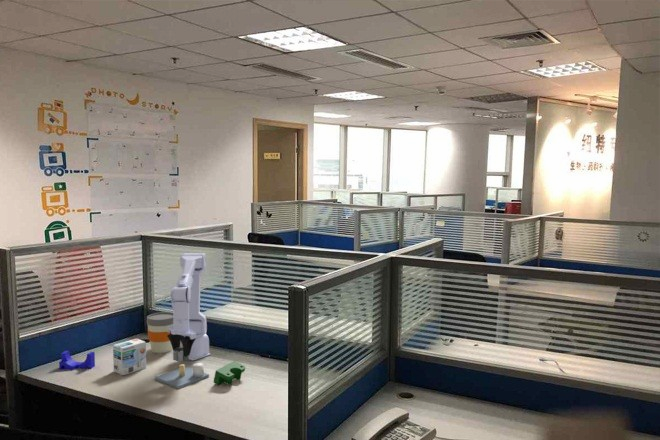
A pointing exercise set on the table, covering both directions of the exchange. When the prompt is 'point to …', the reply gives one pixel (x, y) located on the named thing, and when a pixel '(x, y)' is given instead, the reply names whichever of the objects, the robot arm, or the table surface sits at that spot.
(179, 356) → the ring
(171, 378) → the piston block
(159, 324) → the reusable coffee cup
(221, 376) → the clamp
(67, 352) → the cable clip
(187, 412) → the table surface
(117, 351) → the light bulb box
